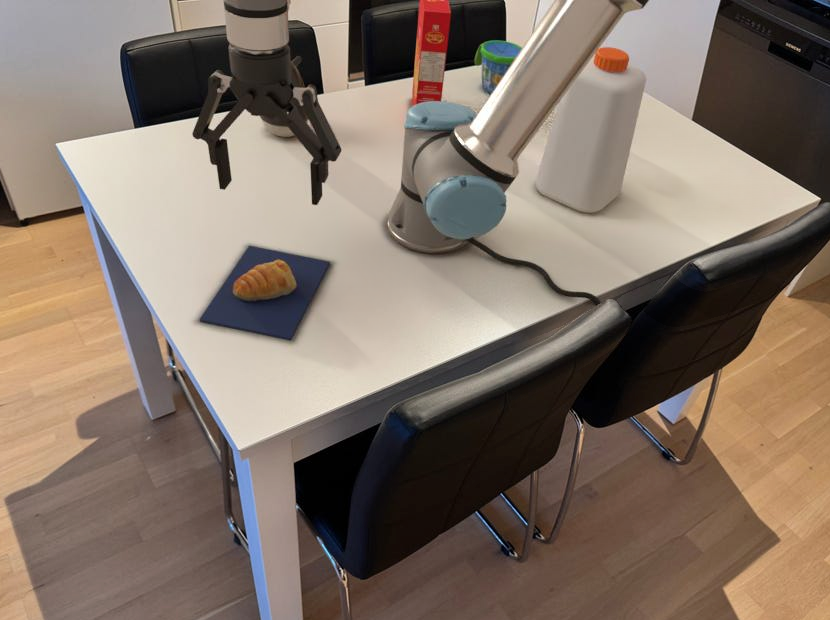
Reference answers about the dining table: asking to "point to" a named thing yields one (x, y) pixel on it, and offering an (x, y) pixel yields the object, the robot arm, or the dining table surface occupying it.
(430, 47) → the food packaging
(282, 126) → the pump dispenser
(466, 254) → the dining table surface
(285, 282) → the pastry
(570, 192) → the plastic bottle
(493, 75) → the snack cup
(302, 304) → the cloth mat
